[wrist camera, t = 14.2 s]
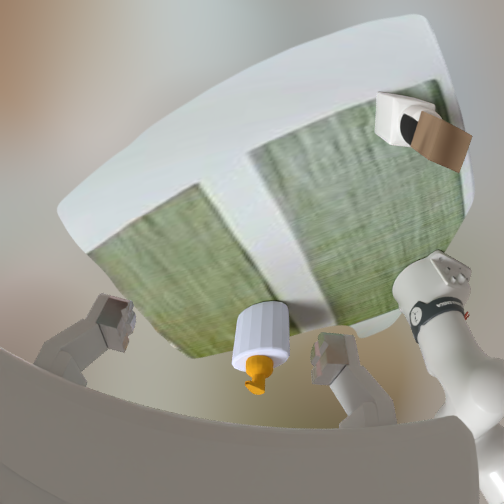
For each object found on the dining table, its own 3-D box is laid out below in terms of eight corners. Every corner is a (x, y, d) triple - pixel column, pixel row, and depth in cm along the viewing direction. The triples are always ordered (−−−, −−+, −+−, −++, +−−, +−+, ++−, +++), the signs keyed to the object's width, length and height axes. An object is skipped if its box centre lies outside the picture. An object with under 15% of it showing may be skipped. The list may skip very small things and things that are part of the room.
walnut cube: (451, 124, 27) (472, 135, 23) (439, 158, 30) (458, 173, 26) (421, 110, 27) (441, 119, 23) (410, 146, 30) (428, 159, 26)
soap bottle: (277, 293, 62) (276, 375, 46) (295, 314, 66) (298, 392, 50) (229, 313, 67) (217, 389, 51) (249, 331, 71) (242, 404, 55)
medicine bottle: (411, 137, 39) (447, 162, 30) (373, 133, 40) (403, 156, 30) (415, 97, 35) (454, 111, 26) (376, 91, 36) (408, 101, 26)
